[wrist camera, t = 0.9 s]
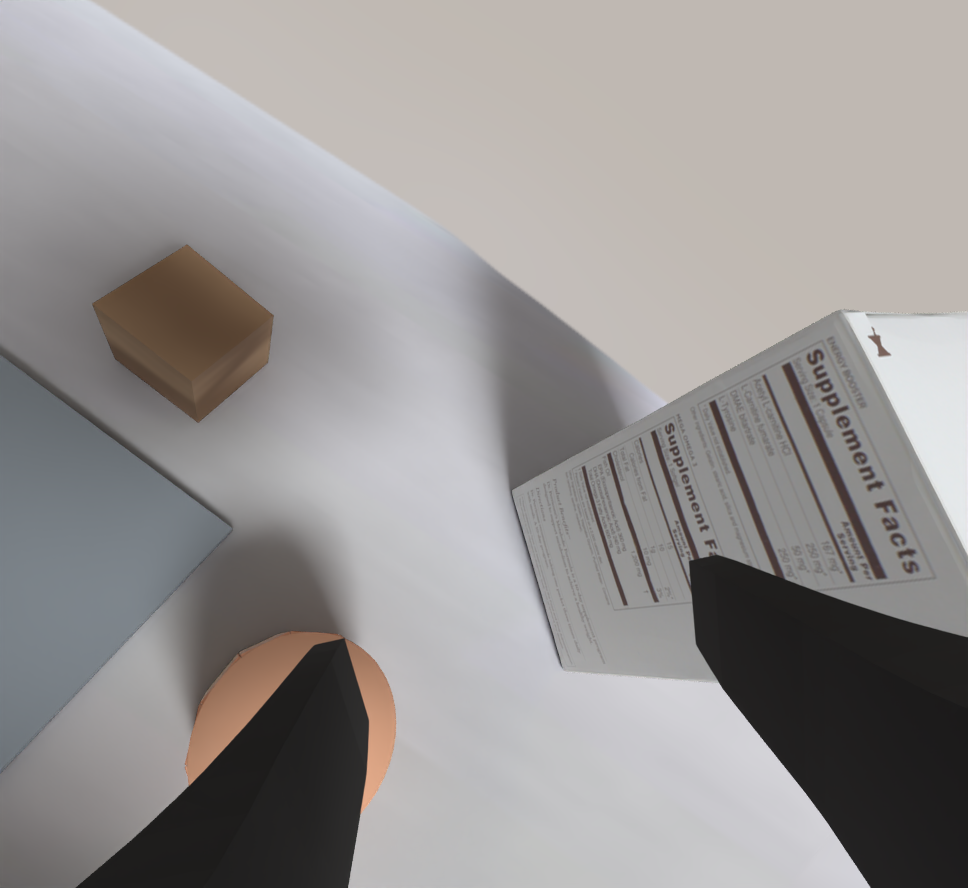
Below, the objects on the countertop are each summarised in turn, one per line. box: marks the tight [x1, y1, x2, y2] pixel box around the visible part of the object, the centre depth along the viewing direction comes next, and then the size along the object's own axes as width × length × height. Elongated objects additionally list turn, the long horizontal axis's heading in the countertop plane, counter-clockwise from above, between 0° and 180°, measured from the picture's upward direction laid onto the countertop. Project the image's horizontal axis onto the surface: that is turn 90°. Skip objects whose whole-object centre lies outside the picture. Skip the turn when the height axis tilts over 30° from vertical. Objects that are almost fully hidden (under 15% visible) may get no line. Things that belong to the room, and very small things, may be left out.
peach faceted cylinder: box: [185, 631, 396, 814], centre depth 17 cm, size 6×6×5 cm
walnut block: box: [92, 245, 274, 423], centre depth 20 cm, size 4×4×4 cm
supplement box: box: [512, 309, 968, 683], centre depth 20 cm, size 10×9×17 cm
